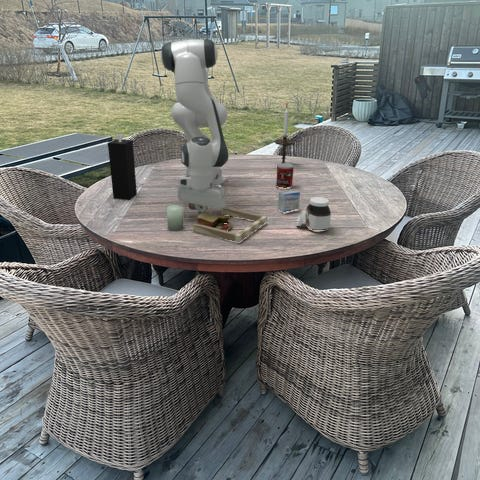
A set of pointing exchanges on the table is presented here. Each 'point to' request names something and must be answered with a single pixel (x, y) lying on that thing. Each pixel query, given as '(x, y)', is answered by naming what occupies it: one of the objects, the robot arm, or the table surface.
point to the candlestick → (285, 137)
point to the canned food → (284, 175)
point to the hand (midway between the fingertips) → (201, 215)
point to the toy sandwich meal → (214, 221)
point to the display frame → (229, 235)
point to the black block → (122, 168)
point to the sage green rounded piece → (175, 217)
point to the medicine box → (288, 200)
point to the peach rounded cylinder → (193, 206)
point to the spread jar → (316, 214)
